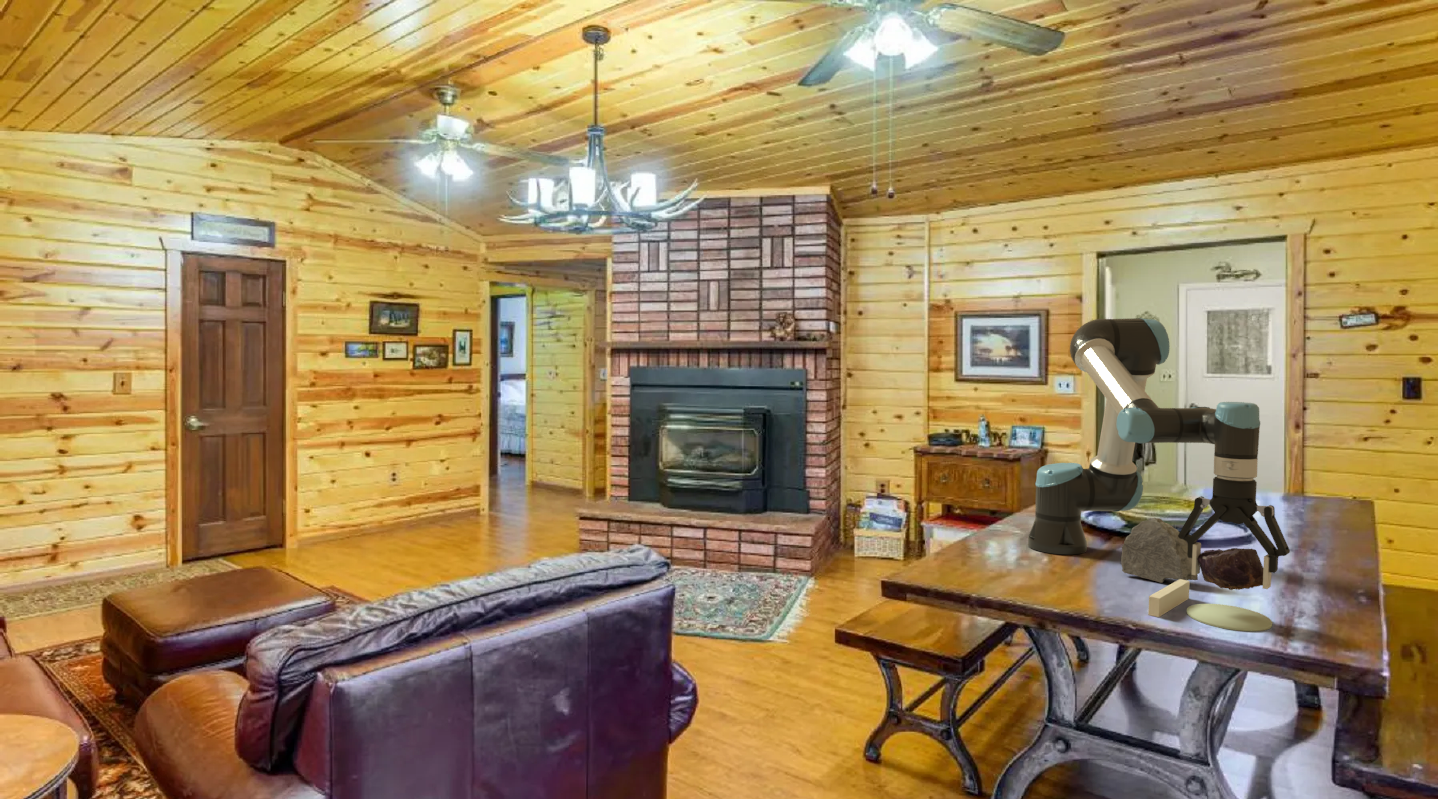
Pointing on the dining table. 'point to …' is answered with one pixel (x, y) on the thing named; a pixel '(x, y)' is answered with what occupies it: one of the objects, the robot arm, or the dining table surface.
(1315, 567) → the dining table surface
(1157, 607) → the rail
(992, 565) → the dining table surface
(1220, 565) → the rock
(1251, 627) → the felt pad
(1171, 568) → the decorative rock
